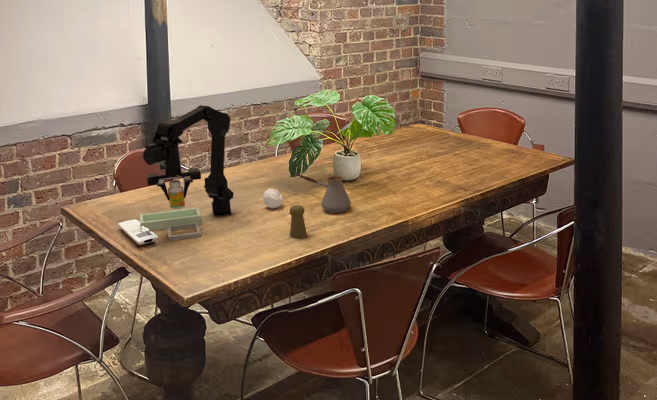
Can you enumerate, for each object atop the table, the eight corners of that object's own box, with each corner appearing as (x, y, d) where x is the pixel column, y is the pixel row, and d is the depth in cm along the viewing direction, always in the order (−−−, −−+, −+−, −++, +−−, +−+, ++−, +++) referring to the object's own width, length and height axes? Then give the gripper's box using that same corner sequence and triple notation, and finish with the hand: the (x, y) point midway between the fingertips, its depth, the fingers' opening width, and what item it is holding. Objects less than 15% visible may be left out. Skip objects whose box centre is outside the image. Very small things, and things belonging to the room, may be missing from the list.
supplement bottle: (170, 210, 256) (167, 184, 253) (169, 205, 261) (166, 180, 258) (186, 208, 258) (183, 182, 255) (184, 203, 263) (181, 178, 260)
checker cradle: (198, 225, 268) (198, 222, 267) (201, 236, 257) (200, 232, 257) (167, 229, 265) (166, 226, 265) (169, 241, 255) (168, 237, 254)
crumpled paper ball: (282, 210, 280) (280, 192, 277) (262, 211, 280) (261, 192, 277) (283, 203, 287) (282, 185, 285) (264, 204, 288) (263, 186, 285)
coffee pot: (351, 204, 283) (350, 168, 278) (350, 215, 272) (349, 177, 267) (298, 205, 285) (296, 169, 280) (294, 215, 274) (292, 178, 269)
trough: (199, 216, 278) (198, 207, 276) (201, 224, 269) (200, 215, 268) (141, 223, 273) (139, 214, 271) (141, 232, 264) (140, 223, 263)
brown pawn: (306, 231, 258) (305, 202, 254) (306, 238, 252) (305, 208, 249) (290, 232, 258) (288, 203, 254) (289, 238, 252) (288, 209, 248)
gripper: (195, 148, 263) (200, 189, 268) (143, 154, 258) (149, 195, 264) (199, 156, 253) (203, 198, 258) (144, 163, 248) (150, 205, 254)
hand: (176, 199), depth 259 cm, fingers closed on supplement bottle, 5 cm apart
